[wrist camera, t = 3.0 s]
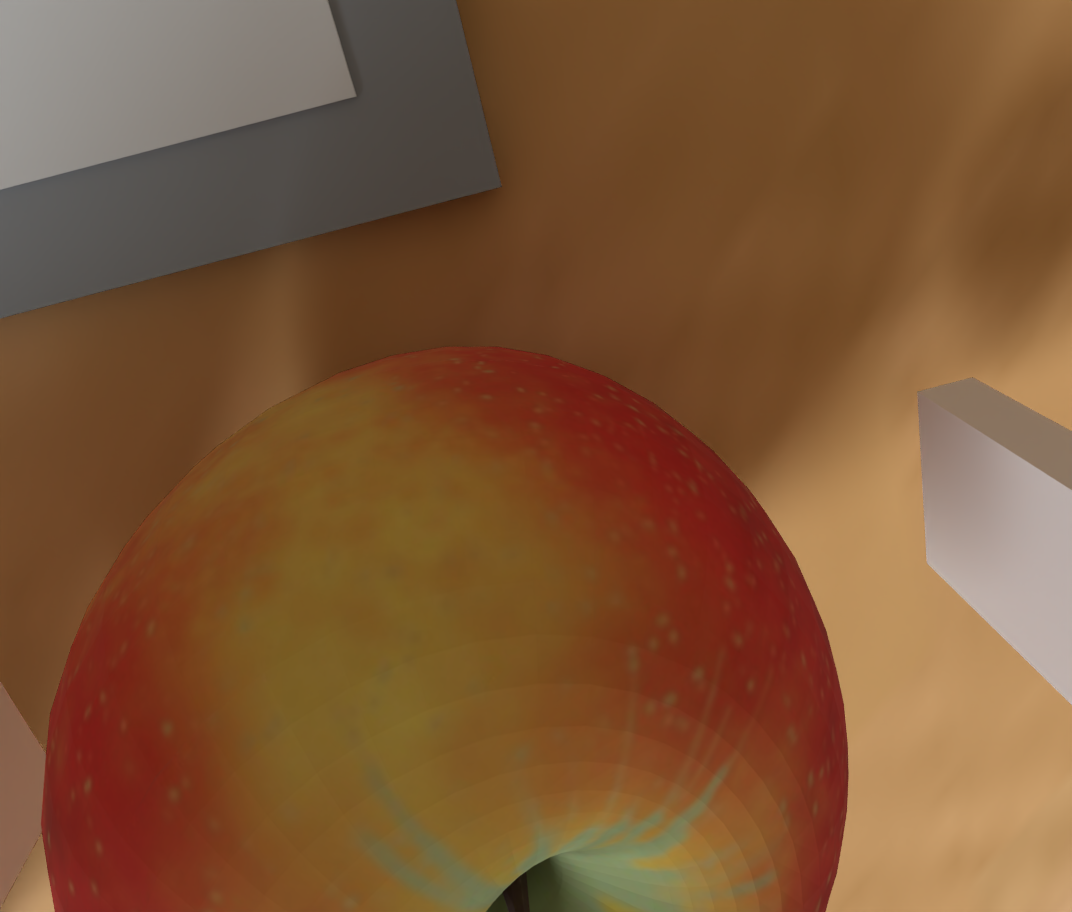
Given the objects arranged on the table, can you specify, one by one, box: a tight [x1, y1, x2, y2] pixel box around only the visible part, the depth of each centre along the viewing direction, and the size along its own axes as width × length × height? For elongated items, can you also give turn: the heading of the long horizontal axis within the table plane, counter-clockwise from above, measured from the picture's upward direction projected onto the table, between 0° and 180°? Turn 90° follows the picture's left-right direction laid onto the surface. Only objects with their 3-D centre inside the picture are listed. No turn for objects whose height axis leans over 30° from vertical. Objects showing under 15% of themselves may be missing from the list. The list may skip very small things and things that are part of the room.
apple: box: [41, 347, 848, 912], centre depth 9 cm, size 8×8×10 cm
